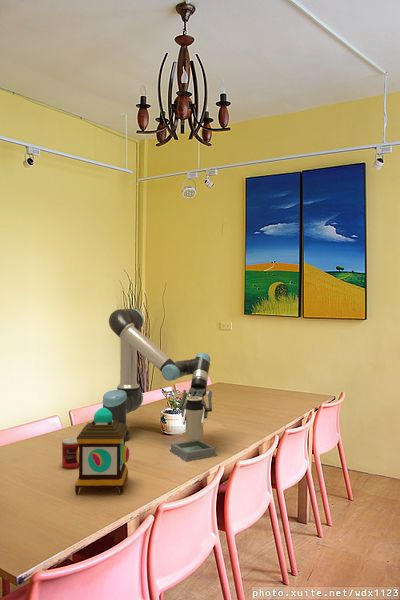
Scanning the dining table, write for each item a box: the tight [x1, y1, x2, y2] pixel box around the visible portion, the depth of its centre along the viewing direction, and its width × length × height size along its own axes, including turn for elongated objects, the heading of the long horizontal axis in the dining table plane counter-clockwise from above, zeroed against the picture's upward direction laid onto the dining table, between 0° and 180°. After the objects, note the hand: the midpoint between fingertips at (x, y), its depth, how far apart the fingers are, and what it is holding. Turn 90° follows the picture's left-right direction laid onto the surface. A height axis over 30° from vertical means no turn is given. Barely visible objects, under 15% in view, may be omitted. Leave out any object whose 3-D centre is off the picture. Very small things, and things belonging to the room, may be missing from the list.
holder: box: [169, 439, 218, 462], centre depth 231 cm, size 16×16×4 cm
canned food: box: [61, 437, 79, 470], centre depth 214 cm, size 8×8×11 cm
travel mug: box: [185, 396, 204, 440], centre depth 231 cm, size 8×8×18 cm
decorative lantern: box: [74, 407, 130, 495], centre depth 192 cm, size 20×20×30 cm
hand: (193, 423), depth 228 cm, fingers closed on travel mug, 8 cm apart
